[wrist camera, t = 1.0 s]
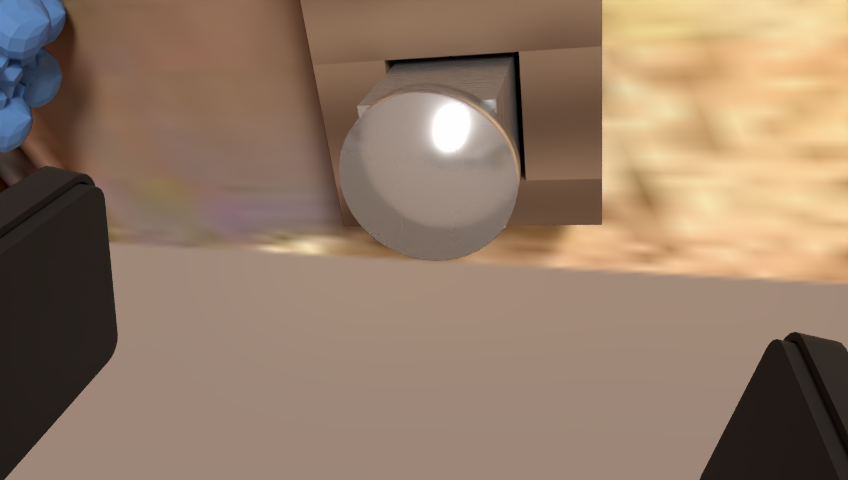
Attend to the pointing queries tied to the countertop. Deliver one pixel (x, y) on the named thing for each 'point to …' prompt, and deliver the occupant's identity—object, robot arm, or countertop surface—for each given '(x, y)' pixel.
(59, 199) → the robot arm
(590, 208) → the block
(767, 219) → the countertop surface
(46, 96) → the grapes
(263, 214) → the countertop surface
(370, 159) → the plunger steel
